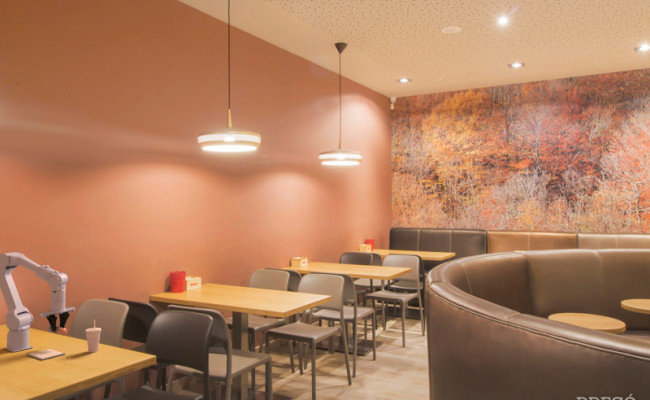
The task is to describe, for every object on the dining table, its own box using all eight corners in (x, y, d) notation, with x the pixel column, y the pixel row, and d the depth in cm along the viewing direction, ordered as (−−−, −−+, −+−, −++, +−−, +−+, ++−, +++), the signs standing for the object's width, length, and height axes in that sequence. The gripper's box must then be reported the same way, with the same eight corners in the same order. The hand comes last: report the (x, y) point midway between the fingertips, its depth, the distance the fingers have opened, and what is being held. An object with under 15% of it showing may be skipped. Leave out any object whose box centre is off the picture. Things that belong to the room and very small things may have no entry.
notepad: (26, 355, 195) (26, 353, 195) (50, 349, 203) (50, 348, 203) (41, 360, 187) (41, 359, 187) (65, 354, 195) (65, 353, 196)
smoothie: (94, 353, 196) (94, 321, 197) (81, 353, 198) (82, 320, 198) (104, 349, 203) (104, 318, 203) (91, 348, 204) (92, 317, 204)
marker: (48, 332, 205) (48, 326, 205) (55, 331, 208) (55, 324, 208) (60, 336, 200) (60, 329, 200) (67, 334, 202) (67, 327, 202)
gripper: (45, 303, 196) (45, 335, 195) (79, 298, 208) (78, 328, 208) (37, 302, 200) (37, 333, 199) (70, 297, 212) (70, 326, 211)
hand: (57, 330), depth 204 cm, fingers closed on marker, 3 cm apart
